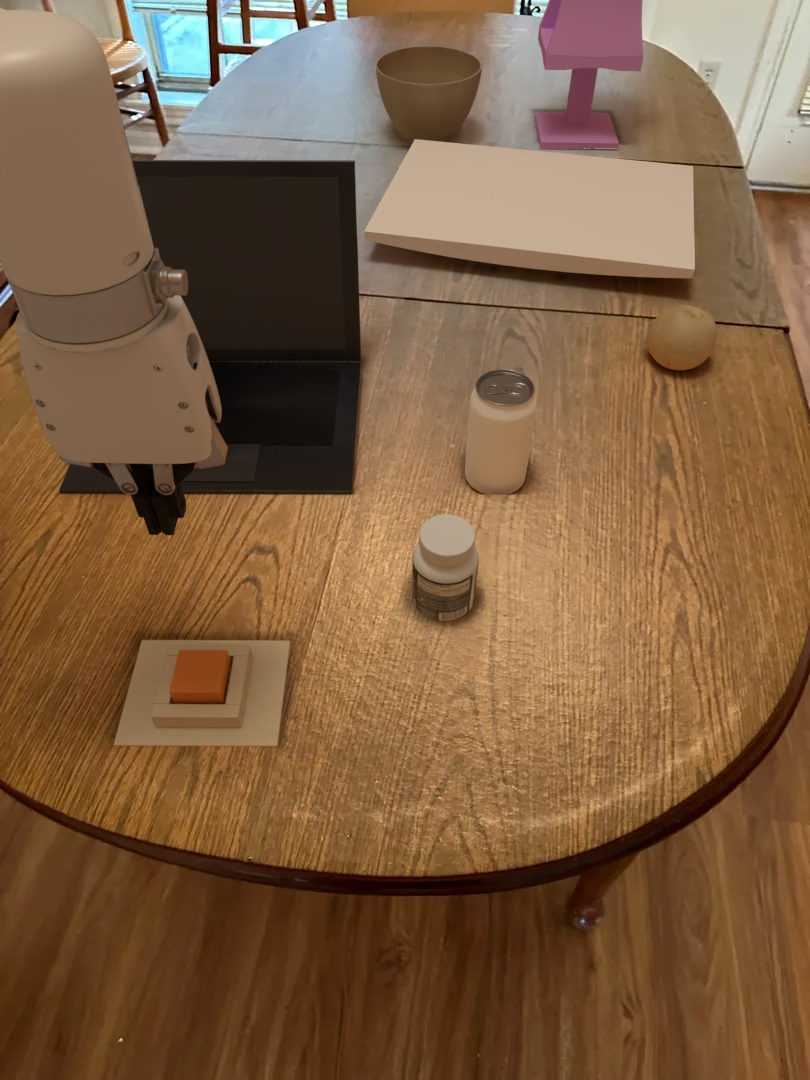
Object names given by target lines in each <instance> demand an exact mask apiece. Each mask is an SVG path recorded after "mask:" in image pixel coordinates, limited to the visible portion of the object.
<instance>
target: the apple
mask: <svg viewBox="0 0 810 1080" xmlns="http://www.w3.org/2000/svg"><path fill="white" fill-rule="evenodd" d="M717 329H718V328H717V324H716V322H715V320H714V318H713V317H712V315H710V313H708V312H707V311H705V310H703V309H702V308H700V307H697V306H694V305H692V304H684V303H683V304H682V303H679V304H675V305H672V306H670V307H667V308H666V309H664V310H663V311H662V312H660V313H659V314H658V315H657V316H656V317H655V319H654V320H653V321H652V322H651V325H650V327H649V329H648V332H647V336H646V345H647V350H648V352H649V354H650V355H651V357H652V358H653V359H654V360H655V362H656V363H657V364H659V365H660V366H662V367H664V368H665V369H669V370H671V371H688V370H692V369H695V368H697V367H698V366H701V364H703V363H704V362H705V361H706V360H708V358H709V356H710V355H712V352H713V350H714V348H715V346H716V343H717V339H718V330H717Z"/></svg>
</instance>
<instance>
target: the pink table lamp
mask: <svg viewBox="0 0 810 1080" xmlns="http://www.w3.org/2000/svg"><path fill="white" fill-rule="evenodd" d="M538 25H539V26H538V33H537V40H538V45H539V47H540V51H541V57H542V63H543V68H544V69H543V70H544V71H570V70H571V74H570V82H569V89H568V95H567V101H566V109H565V111H535V113H534V123H535V122H536V123H535V128H537V129H536V134H538V135H537V139H538V140H537V141H538V146H539V145H540V146H539V149H540V150H569V149H577V148H578V149H584V148H587V149H588V148H590V149H595V148H618V149H619V145H620V143H619V139H618V137H617V134H616V130H615V128H614V124H613V122H612V118H611V115H610V113H609V112H592V106H593V100H594V94H595V88H596V83H597V77H598V70H599V69H605V70H606V69H607V70H613V71H619V72H641V71H642V67H643V61H644V44H643V43H644V41H643V0H548V2H547V5H546V8H545V10H544V13H543V16H542V18H541V21H540V23H539V24H538ZM561 148H562V149H561ZM565 148H566V149H565Z"/></svg>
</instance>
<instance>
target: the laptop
mask: <svg viewBox="0 0 810 1080" xmlns="http://www.w3.org/2000/svg"><path fill="white" fill-rule="evenodd" d="M209 363H210V367H211V370H212V373H213V376H214V379H215V383H216V386H217V390H218V393H219V397H220V402H221V409H222V413H221V421H220V422H214V423H215V425H216V427H217V428H218V430H219V432H220V434H221V436H222V438H223V439H224V441H225V443H226V445H227V447H228V451H227V455H226V459H225V463H224V464H223V465H221V466H215V467H209V468H204V469H199V468H196V469H194V470H193V471H192V472H191V473H190V474H189V475H188V476H187V477H186V478H184V479H183V480H182V481H181V485H182V489H183V492H184V495H303V496H305V495H306V496H307V495H308V496H309V495H313V496H315V495H319V496H320V495H321V496H322V495H324V496H325V495H328V496H329V495H330V496H331V495H333V496H335V495H337V496H338V495H339V496H340V495H341V496H347V495H349V496H350V495H351V496H352V495H354V490H355V489H354V488H355V477H356V460H357V445H358V444H357V443H358V431H359V419H360V418H359V417H360V405H361V404H360V403H361V388H362V376H363V375H362V374H363V373H362V361H209ZM58 491H59V494H61V495H127V494H126V493H124V492H122V491H121V490H120V488H119V486H118V485H117V483H116V481H115V480H113V479H112V478H110V477H108V476H106V475H105V474H103V473H101V472H99V471H98V470H96V469H95V468H94V467H93V466H91V467H85V466H80V465H74V464H69V466H68V468H67V470H66V472H65V475H64V477H63V480H62V482H61V484H60V486H59V489H58Z"/></svg>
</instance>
